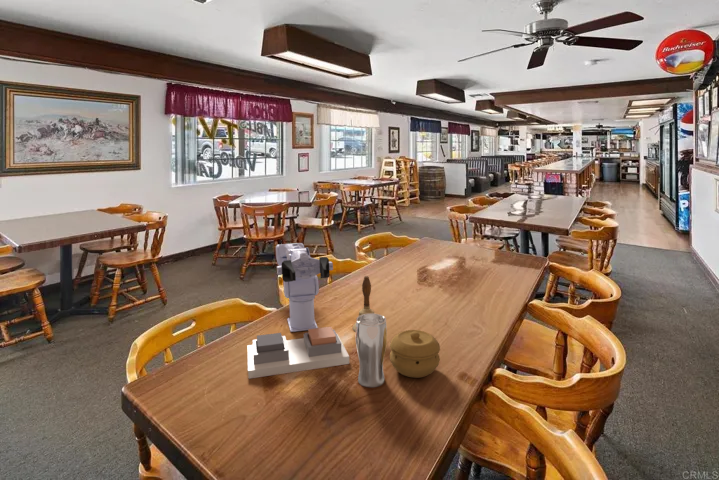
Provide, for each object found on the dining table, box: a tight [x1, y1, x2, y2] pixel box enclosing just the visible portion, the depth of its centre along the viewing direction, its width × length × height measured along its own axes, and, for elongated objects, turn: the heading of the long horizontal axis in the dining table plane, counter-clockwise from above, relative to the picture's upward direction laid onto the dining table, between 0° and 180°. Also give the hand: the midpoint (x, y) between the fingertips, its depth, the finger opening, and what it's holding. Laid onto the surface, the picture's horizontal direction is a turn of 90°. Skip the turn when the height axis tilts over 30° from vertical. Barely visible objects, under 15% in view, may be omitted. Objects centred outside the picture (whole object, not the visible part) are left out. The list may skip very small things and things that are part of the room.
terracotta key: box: [307, 326, 336, 346], centre depth 104 cm, size 6×6×3 cm
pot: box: [389, 329, 441, 379], centre depth 96 cm, size 12×12×10 cm
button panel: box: [246, 329, 350, 380], centre depth 103 cm, size 13×24×4 cm, turn 106°
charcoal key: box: [256, 332, 284, 353], centre depth 100 cm, size 6×6×3 cm
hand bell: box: [352, 275, 375, 333], centre depth 118 cm, size 8×8×16 cm
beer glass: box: [355, 312, 388, 389], centre depth 91 cm, size 7×7×15 cm
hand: (309, 275), depth 99 cm, fingers open, 7 cm apart
